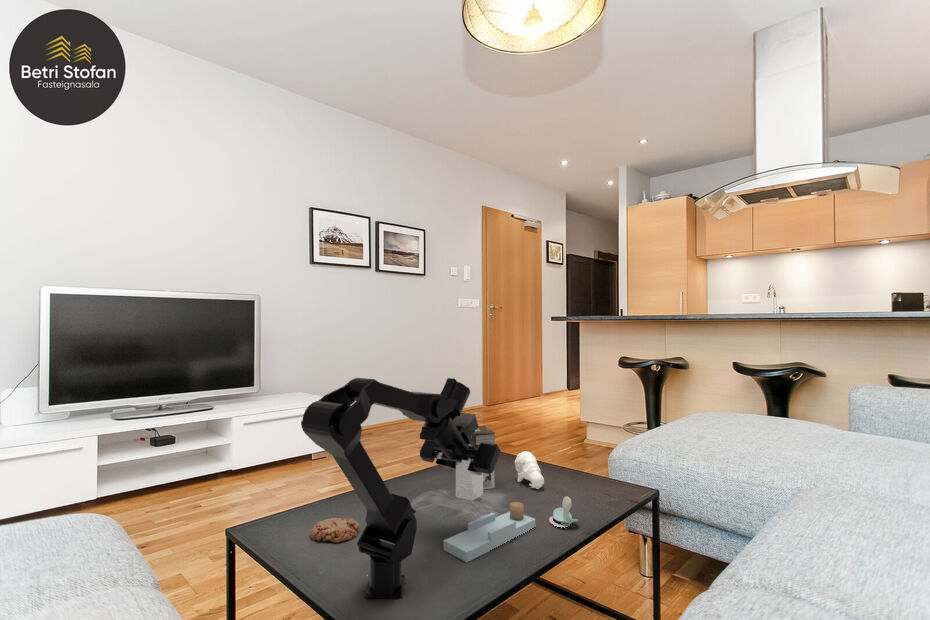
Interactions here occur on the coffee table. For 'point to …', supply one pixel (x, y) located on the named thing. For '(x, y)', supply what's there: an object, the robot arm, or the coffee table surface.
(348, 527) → the cookie
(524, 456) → the white animal figurine
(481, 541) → the blue stand
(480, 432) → the coffee box
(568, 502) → the pacifier
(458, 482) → the white rectangular block
